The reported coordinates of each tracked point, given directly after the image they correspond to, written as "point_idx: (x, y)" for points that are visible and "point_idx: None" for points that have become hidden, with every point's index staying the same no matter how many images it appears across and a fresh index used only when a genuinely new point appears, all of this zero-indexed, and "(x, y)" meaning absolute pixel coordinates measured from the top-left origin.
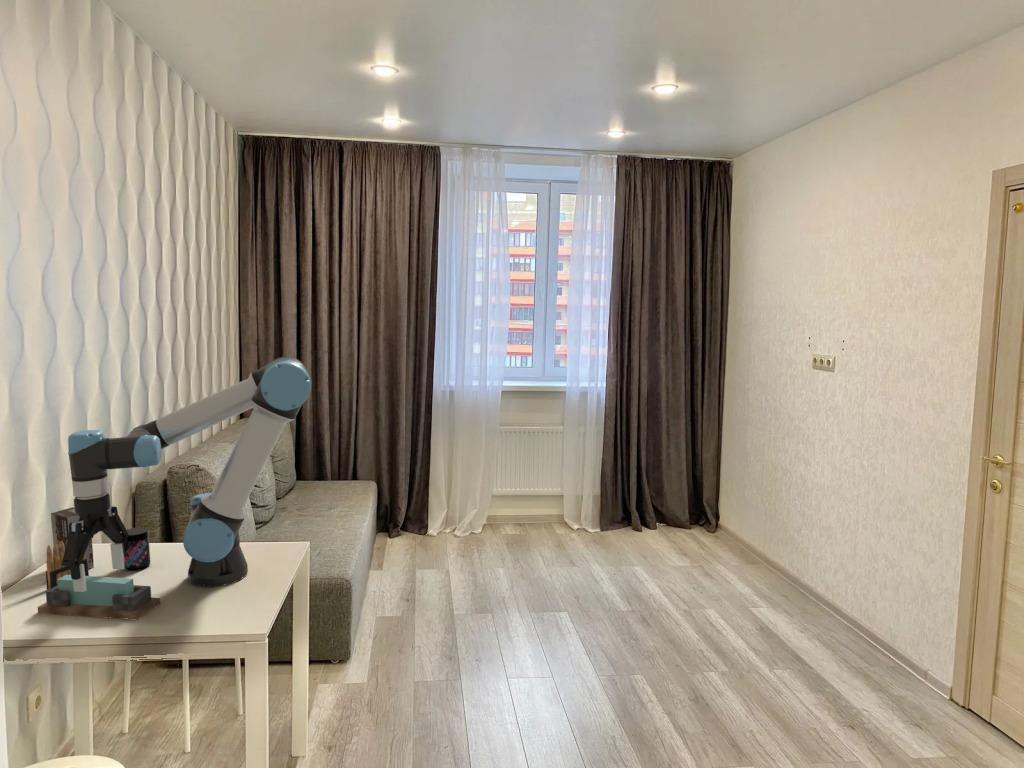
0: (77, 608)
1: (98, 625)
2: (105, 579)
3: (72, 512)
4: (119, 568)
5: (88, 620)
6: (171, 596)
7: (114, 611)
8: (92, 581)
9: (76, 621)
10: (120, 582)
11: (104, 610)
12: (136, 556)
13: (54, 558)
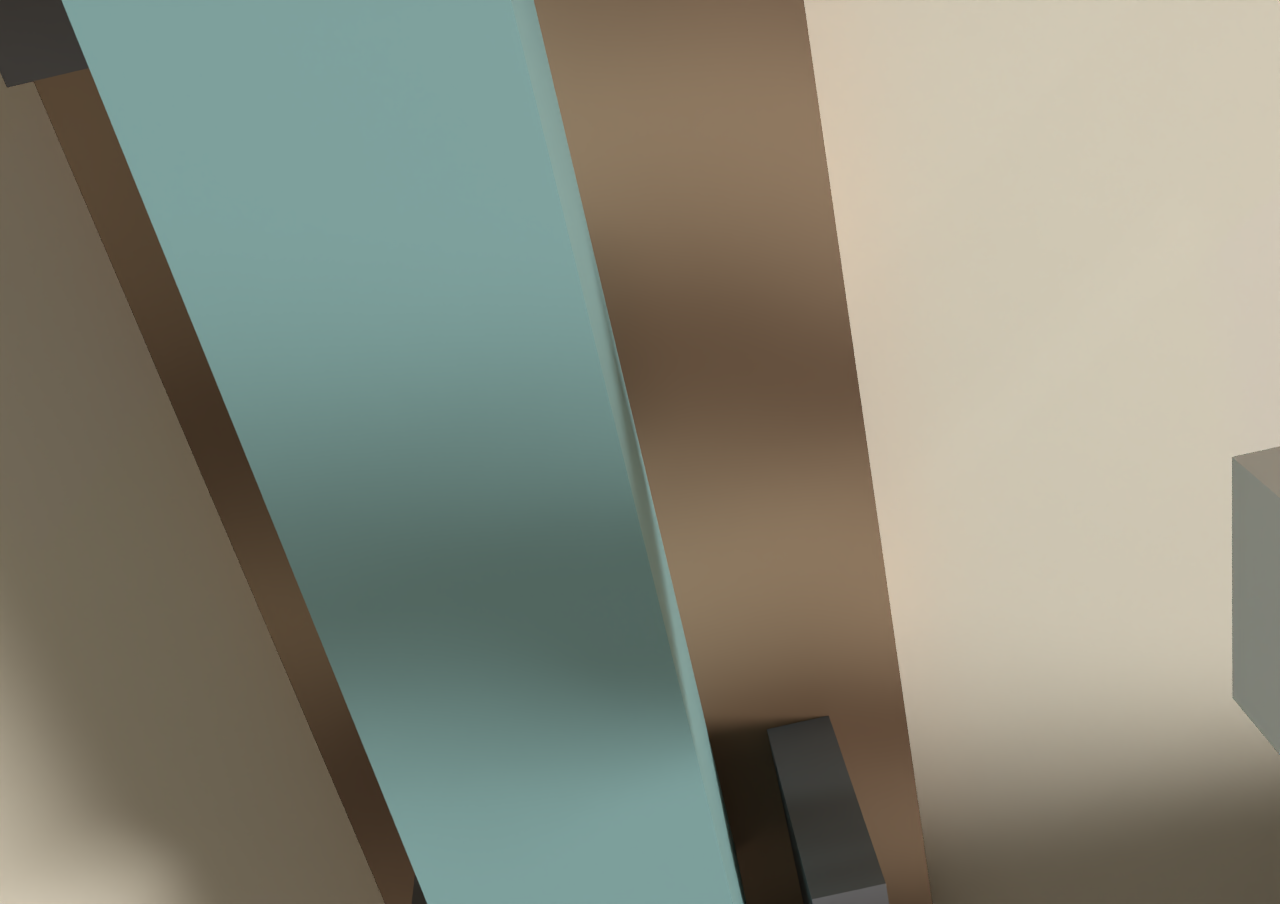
0: (178, 290)
1: (141, 797)
2: (581, 860)
3: None
4: (1240, 643)
5: (164, 573)
6: (1149, 885)
7: (392, 858)
8: (361, 716)
9: (43, 449)
10: None
11: (352, 722)
12: None
13: None
